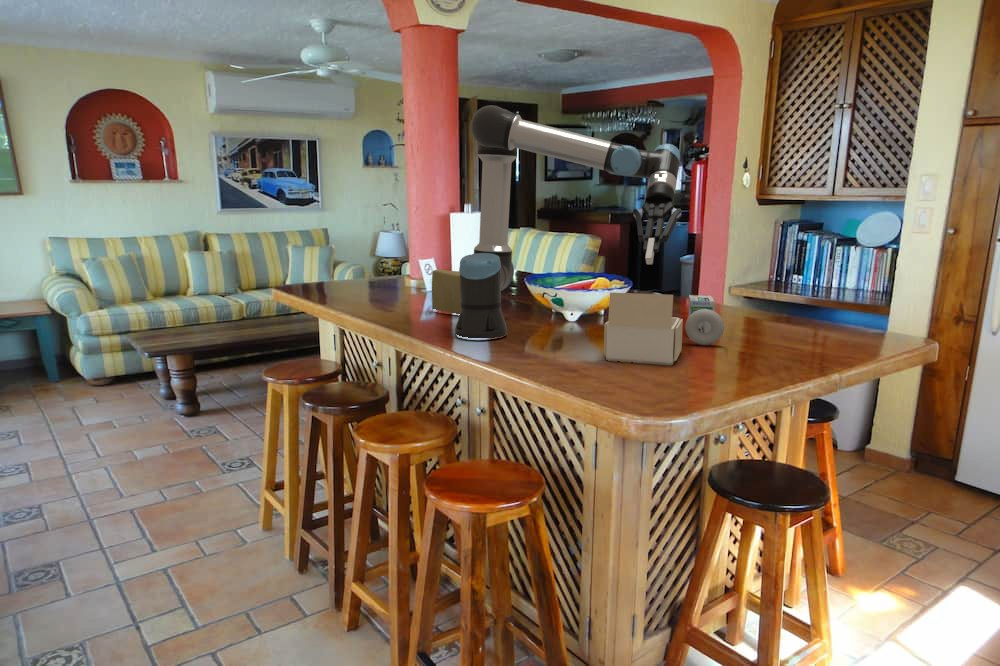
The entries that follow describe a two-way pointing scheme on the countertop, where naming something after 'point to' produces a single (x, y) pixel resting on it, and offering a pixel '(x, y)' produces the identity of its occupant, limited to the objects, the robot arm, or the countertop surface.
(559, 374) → the countertop surface
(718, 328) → the donut
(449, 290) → the brown box
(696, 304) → the light bulb box
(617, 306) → the flap
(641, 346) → the carton
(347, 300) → the countertop surface
